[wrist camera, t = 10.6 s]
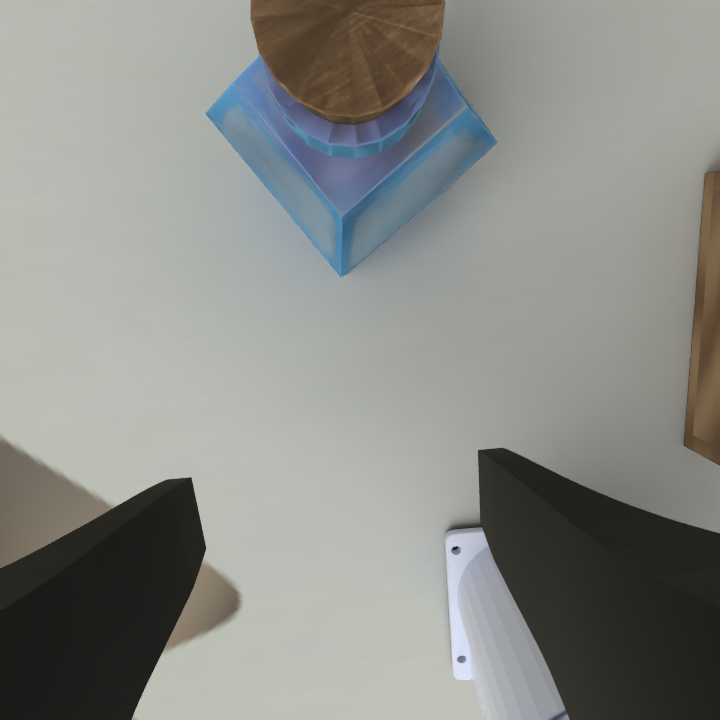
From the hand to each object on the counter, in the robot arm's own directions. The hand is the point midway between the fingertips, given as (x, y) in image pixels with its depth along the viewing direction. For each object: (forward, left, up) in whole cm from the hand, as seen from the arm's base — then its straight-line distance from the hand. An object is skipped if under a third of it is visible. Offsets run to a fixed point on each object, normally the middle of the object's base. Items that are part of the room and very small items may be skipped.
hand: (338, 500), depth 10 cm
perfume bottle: (+10, -1, -11) cm, 14 cm away
